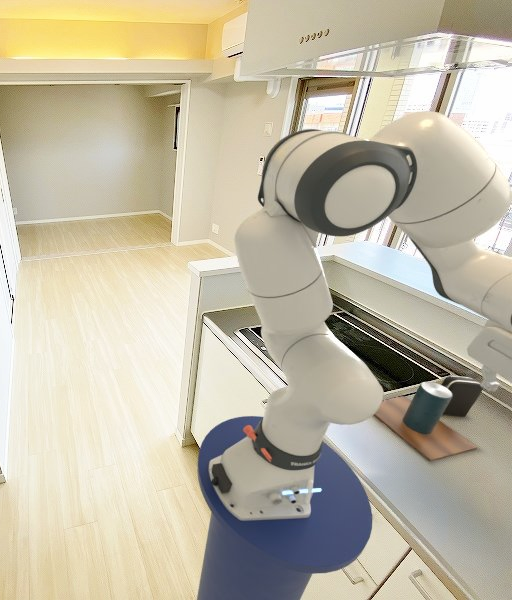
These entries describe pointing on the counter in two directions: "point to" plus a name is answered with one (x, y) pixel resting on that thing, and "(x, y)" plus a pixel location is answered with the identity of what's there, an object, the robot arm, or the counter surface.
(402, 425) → the wooden board
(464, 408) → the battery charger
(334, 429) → the counter surface
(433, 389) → the can
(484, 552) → the counter surface
